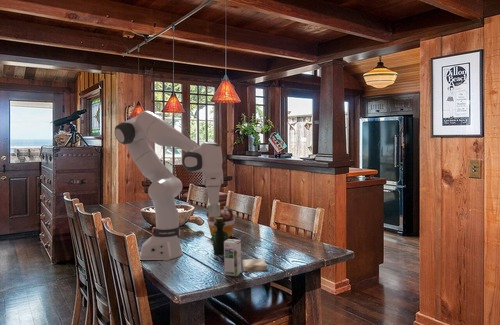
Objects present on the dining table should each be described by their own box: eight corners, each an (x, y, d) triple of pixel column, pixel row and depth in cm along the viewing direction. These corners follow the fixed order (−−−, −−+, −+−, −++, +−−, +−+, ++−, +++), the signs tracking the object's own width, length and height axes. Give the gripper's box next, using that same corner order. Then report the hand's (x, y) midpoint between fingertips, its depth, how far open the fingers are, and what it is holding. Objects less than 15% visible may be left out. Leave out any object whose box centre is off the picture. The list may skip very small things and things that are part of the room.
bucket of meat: (242, 237, 229) (241, 203, 227) (217, 242, 220) (216, 207, 218) (224, 231, 245) (223, 199, 244) (200, 235, 236) (199, 202, 235)
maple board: (244, 271, 171) (244, 266, 171) (241, 264, 181) (241, 259, 181) (266, 269, 172) (266, 265, 172) (263, 262, 182) (263, 258, 182)
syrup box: (224, 275, 167) (223, 241, 166) (229, 270, 172) (229, 238, 171) (236, 276, 164) (235, 242, 164) (241, 272, 170) (241, 239, 169)
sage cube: (208, 216, 167) (208, 205, 167) (208, 214, 172) (208, 203, 172) (220, 216, 168) (219, 204, 167) (219, 214, 173) (219, 202, 172)
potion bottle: (227, 250, 203) (226, 216, 202) (229, 255, 195) (228, 219, 194) (211, 251, 202) (210, 217, 201) (213, 256, 194) (212, 220, 193)
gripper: (205, 177, 179) (206, 207, 180) (205, 182, 159) (206, 216, 160) (219, 177, 180) (220, 207, 180) (221, 181, 159) (222, 215, 160)
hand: (214, 211), depth 170 cm, fingers closed on sage cube, 5 cm apart
